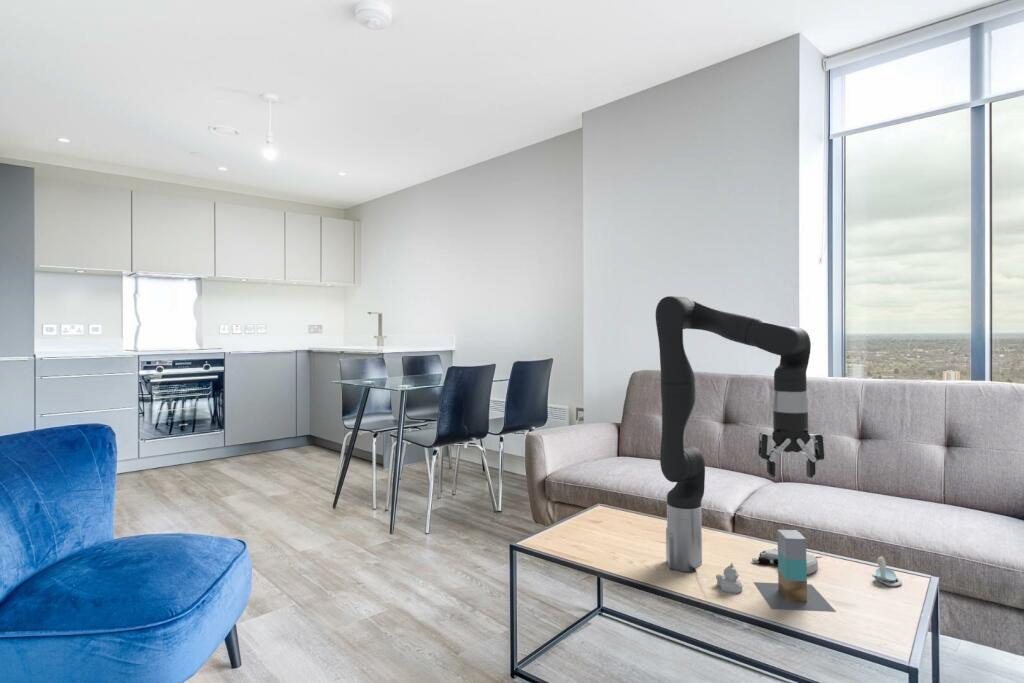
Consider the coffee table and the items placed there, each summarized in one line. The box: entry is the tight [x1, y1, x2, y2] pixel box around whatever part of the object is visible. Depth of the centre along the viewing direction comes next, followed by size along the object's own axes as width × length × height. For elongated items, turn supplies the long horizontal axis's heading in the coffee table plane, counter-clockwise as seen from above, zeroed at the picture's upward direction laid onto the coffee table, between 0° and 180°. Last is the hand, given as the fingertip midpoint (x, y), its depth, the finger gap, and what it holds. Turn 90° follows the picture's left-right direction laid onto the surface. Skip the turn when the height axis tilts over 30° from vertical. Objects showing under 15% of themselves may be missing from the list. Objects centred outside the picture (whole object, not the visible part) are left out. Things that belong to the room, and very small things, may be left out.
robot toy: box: [751, 548, 823, 576], centre depth 154 cm, size 12×4×15 cm
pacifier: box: [871, 556, 903, 587], centre depth 145 cm, size 7×6×6 cm
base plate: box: [753, 581, 837, 613], centre depth 136 cm, size 14×14×1 cm
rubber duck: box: [715, 562, 743, 594], centre depth 140 cm, size 5×7×8 cm
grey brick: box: [777, 529, 807, 560], centre depth 135 cm, size 4×6×5 cm
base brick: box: [777, 569, 808, 602], centre depth 136 cm, size 4×6×5 cm
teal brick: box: [777, 551, 808, 582], centre depth 136 cm, size 4×6×5 cm
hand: (791, 476), depth 135 cm, fingers open, 8 cm apart
